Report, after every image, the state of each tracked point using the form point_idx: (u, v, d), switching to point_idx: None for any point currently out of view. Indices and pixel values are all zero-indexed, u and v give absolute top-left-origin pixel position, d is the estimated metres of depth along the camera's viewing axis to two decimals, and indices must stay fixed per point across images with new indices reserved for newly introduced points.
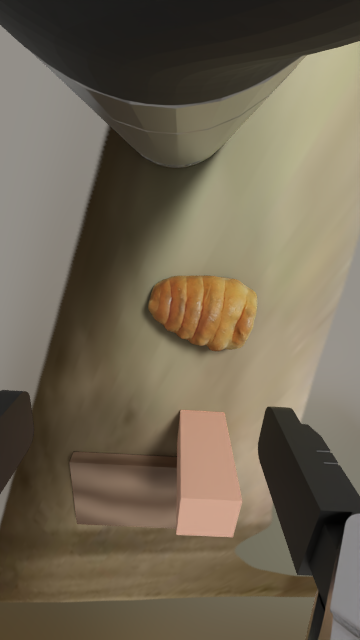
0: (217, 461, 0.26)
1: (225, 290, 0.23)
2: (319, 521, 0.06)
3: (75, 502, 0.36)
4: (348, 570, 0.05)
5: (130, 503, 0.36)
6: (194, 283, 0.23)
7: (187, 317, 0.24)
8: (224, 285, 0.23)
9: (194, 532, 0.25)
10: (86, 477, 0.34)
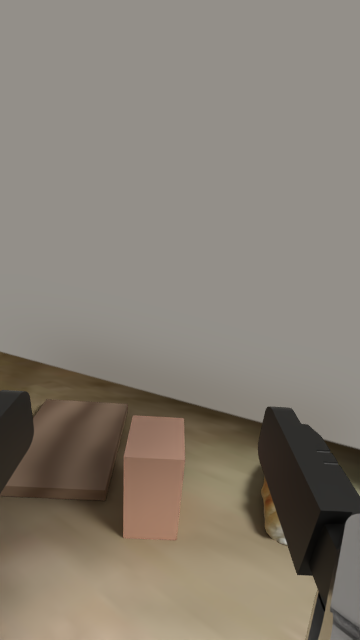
0: None
1: None
2: (319, 521, 0.06)
3: (77, 401, 0.42)
4: (348, 570, 0.05)
5: (61, 437, 0.35)
6: None
7: None
8: None
9: (134, 427, 0.26)
10: (107, 411, 0.40)
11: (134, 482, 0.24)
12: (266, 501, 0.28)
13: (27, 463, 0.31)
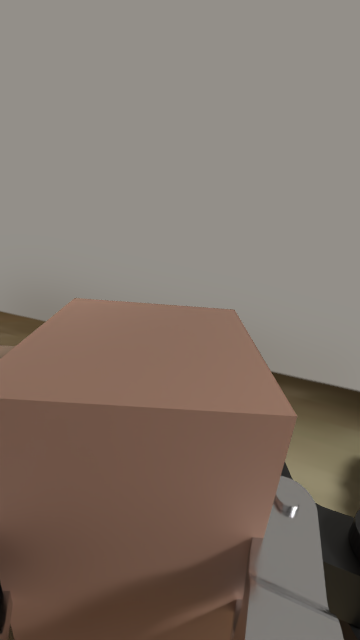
0: None
1: None
2: None
3: (10, 346, 0.23)
4: None
5: None
6: None
7: None
8: None
9: (67, 316, 0.07)
10: None
11: (38, 528, 0.05)
12: None
13: None
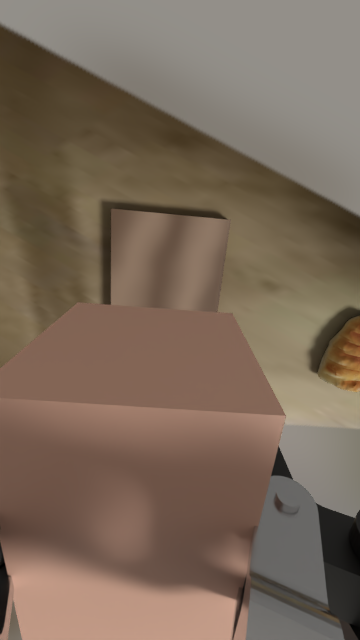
0: None
1: None
2: None
3: (157, 214, 0.28)
4: None
5: (156, 283, 0.31)
6: None
7: None
8: None
9: (70, 320, 0.08)
10: (203, 236, 0.29)
11: (43, 521, 0.05)
12: (328, 367, 0.34)
13: None
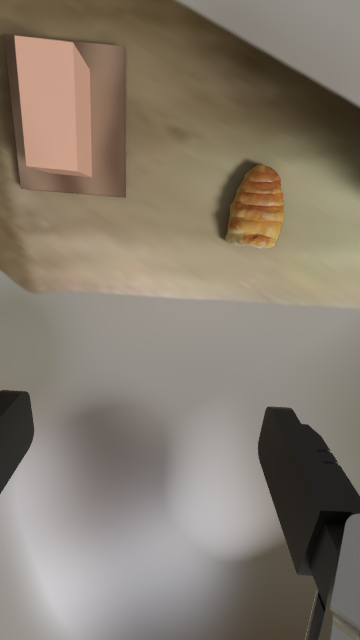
0: (80, 99, 0.27)
1: (279, 222, 0.34)
2: (319, 521, 0.06)
3: None
4: (348, 570, 0.05)
5: None
6: (281, 198, 0.33)
7: (261, 196, 0.32)
8: (281, 221, 0.34)
9: None
10: (99, 67, 0.29)
11: (28, 76, 0.25)
12: (230, 224, 0.34)
13: None
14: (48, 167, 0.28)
